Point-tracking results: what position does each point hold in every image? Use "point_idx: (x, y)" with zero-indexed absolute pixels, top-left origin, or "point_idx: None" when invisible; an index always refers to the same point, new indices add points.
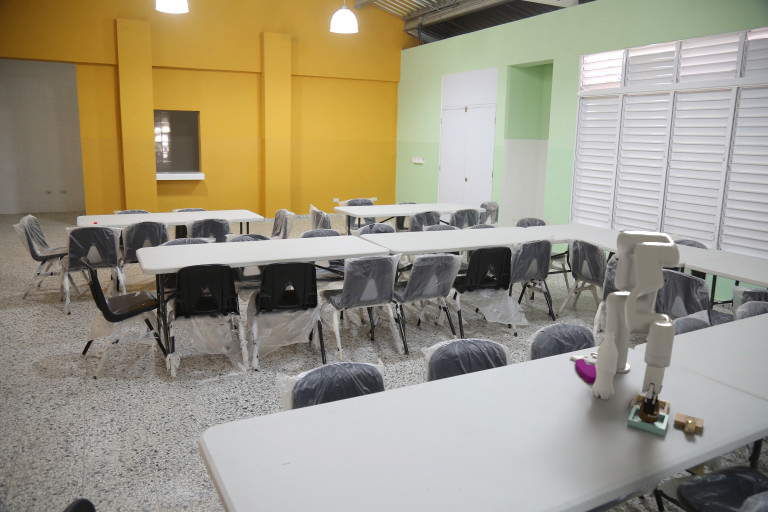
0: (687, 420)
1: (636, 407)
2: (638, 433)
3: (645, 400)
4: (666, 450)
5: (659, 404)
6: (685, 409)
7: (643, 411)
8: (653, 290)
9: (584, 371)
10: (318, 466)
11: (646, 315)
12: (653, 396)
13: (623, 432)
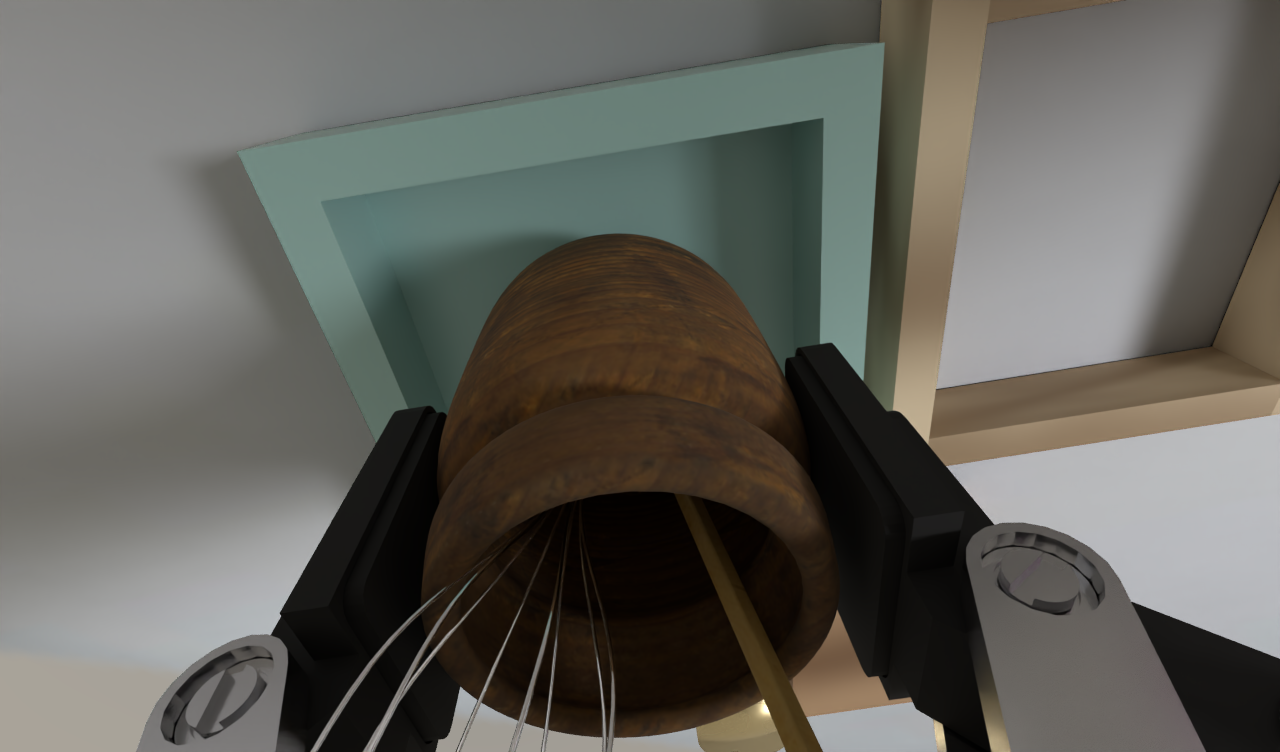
0: (747, 715)
1: (846, 110)
2: (271, 321)
3: (157, 730)
4: (228, 595)
5: (1257, 283)
6: (1218, 492)
7: (397, 425)
8: None
9: None
10: None
11: None
12: (871, 615)
13: (74, 158)
